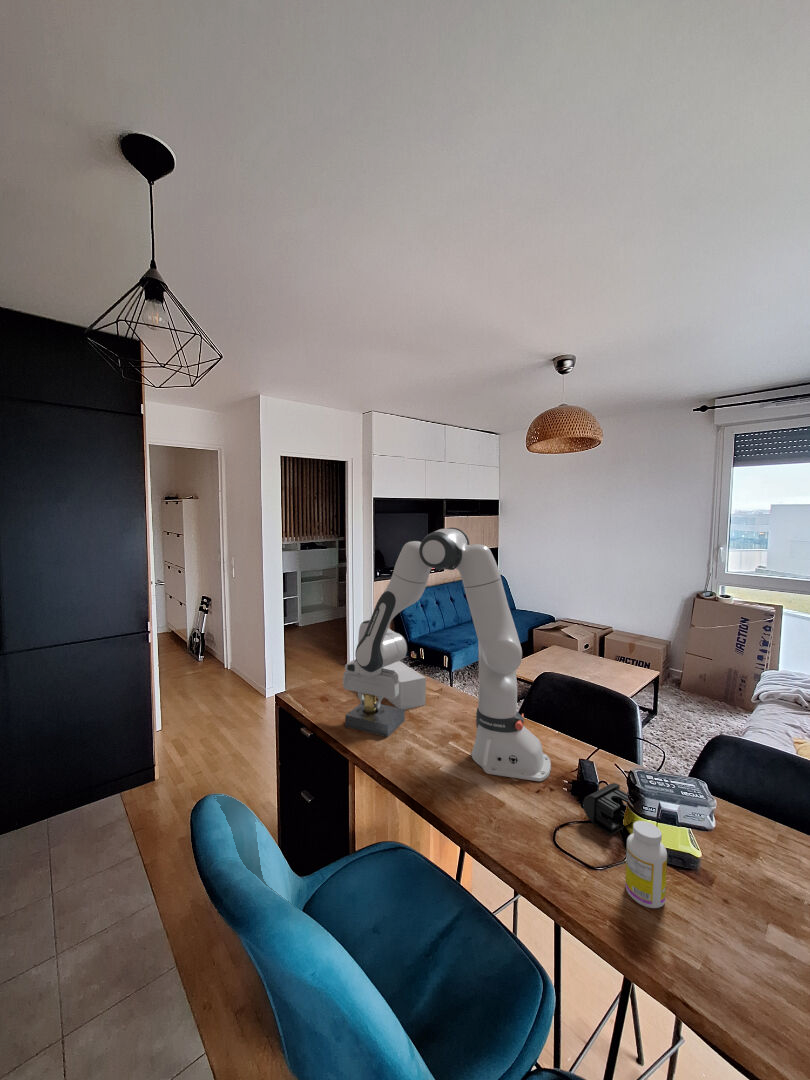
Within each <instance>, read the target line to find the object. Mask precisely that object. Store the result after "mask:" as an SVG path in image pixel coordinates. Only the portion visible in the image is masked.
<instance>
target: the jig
mask: <svg viewBox="0 0 810 1080" xmlns="http://www.w3.org/2000/svg"><path fill="white" fill-rule="evenodd" d="M405 711H406V709H401V708H397V707H396V706H391V705H386V704H381V703H380V708H379V709H378V708H376V714H373V715H368V714H364V705H361V704H360V703H359V704H358V705H356V706H355V707H354V708H353V709H352V710H350V711H349V712H348V713H346V714H345V715H344V716H345V717H344V718H345V719H344V721H345V722H344V723H345V724H344V726H345V728H349V729H352V730H357V731H361V732H365V733H369V734H373V735H376V736H381V737H385V738H389V737H390V736H391V735H392V734H393V733H394V732H395V731H396V730H397V729H398V728H399V727H400V726H401V725H402V723H404V722H405V718H406V717H405V716H406V715H405V714H406V713H405Z"/></svg>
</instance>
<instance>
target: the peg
mask: <svg viewBox="0 0 810 1080" xmlns="http://www.w3.org/2000/svg"><path fill="white" fill-rule="evenodd" d="M363 696H364V714H368V715H373V714H376V708H374V703H375V702H376V701H377V696H374V695H369V694H365V693H363Z"/></svg>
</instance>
